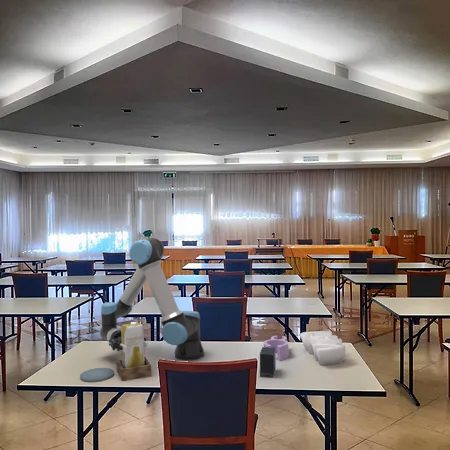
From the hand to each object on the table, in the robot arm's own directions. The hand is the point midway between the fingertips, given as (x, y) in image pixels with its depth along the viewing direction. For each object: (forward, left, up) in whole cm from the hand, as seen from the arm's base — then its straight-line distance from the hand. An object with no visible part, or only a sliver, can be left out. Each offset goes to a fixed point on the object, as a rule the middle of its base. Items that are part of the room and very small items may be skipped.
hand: (137, 347), depth 202 cm
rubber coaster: (+17, -8, -13) cm, 23 cm away
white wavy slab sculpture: (-90, +13, -13) cm, 92 cm away
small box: (-55, +23, -13) cm, 61 cm away
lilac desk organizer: (-72, 0, -13) cm, 73 cm away
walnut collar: (+1, -4, -13) cm, 14 cm away
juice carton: (+1, -4, -13) cm, 14 cm away
